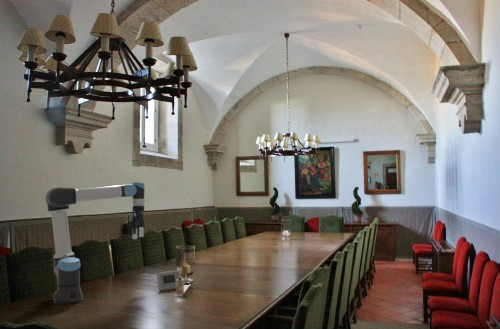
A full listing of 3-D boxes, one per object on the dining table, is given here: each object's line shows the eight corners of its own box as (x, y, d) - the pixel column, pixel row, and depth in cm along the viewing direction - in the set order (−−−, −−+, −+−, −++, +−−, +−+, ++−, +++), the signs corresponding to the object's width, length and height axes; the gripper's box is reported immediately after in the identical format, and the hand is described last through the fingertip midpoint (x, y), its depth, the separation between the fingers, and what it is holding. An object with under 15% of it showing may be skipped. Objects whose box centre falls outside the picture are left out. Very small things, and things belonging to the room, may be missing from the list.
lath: (174, 296, 238) (174, 295, 238) (185, 283, 274) (185, 282, 274) (181, 296, 238) (181, 295, 238) (191, 283, 273) (191, 282, 274)
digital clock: (158, 291, 250) (158, 274, 251) (155, 288, 258) (155, 271, 259) (184, 288, 257) (184, 271, 258) (180, 286, 265) (180, 269, 266)
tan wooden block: (175, 294, 241) (175, 278, 241) (177, 292, 245) (177, 277, 245) (182, 294, 241) (182, 278, 241) (183, 292, 245) (183, 276, 245)
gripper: (138, 205, 257) (137, 239, 255) (149, 205, 282) (149, 236, 280) (126, 205, 257) (126, 239, 255) (138, 205, 282) (138, 236, 280)
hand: (138, 237), depth 268 cm, fingers open, 13 cm apart
